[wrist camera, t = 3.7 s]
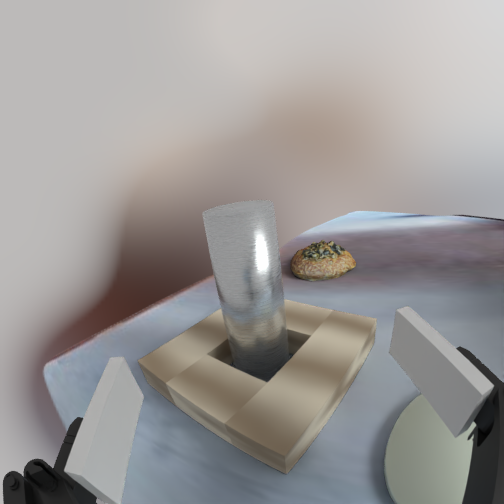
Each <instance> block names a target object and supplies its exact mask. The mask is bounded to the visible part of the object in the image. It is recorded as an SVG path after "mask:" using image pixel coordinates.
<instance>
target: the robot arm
mask: <svg viewBox="0 0 504 504" xmlns="http://www.w3.org/2000/svg"><path fill="white" fill-rule="evenodd" d="M389 353H390V354H391V355H392V356H393V358H394V359H395V360H396V361H397V363H398V364H399V365H400V366H401V368H402V369H403V370H404V371H405V373H406V374H407V375H408V376H409V378H410V379H411V380H412V381H413V383H414V384H415V385H416V387H417V388H418V389H419V390H420V392H421V393H422V394H423V396H424V397H425V398H426V399H427V401H428V402H429V403H430V405H431V406H432V407H433V409H434V410H435V411H436V413H437V414H438V415H439V417H440V418H441V419H442V421H443V422H444V423H445V425H446V426H447V427H448V429H449V430H450V432H451V433H452V434H453V436H454V437H455V438H456V437H458V436H459V435H461V434H462V433H464V432H465V431H467V430H468V429H469V427H470V426H471V424H472V423H473V421H474V422H475V424H476V426H475V428H474V429H473V430H472V432H471V433H470V435H469V436H468V439H467V440H470V439H471V437H472V436H473V435H474V437H473V439H472V441H473V447H472V455H471V462H470V468H469V474H468V479H467V484H466V489H465V493H464V497H463V501H462V504H504V383H503V382H502V381H500V380H499V379H498V378H497V377H496V376H495V375H494V374H493V373H492V372H491V371H490V370H489V369H488V368H487V367H486V366H485V365H484V364H482V363H481V361H480V360H479V359H476V357H475V356H474V355H473V354H472V353H471V352H470V351H468V350H466V349H464V348H462V347H458V348H455V347H454V346H453V345H452V344H451V343H449V342H448V341H447V340H446V339H445V338H444V337H443V336H442V335H441V334H440V333H438V332H437V331H436V330H435V329H434V328H433V327H432V326H431V325H429V324H428V323H427V322H426V321H425V320H424V319H423V318H422V317H420V316H419V315H418V314H417V313H416V312H415V311H413V310H412V309H411V308H410V307H409V306H406V307H403V308H400V309H396V314H395V321H394V328H393V334H392V340H391V346H390V351H389ZM143 398H144V396H143V394H142V392H141V390H140V388H139V386H138V384H137V382H136V380H135V378H134V376H133V374H132V372H131V370H130V368H129V366H128V364H127V362H126V360H125V358H124V357H110V359H109V362H108V364H107V366H106V368H105V370H104V372H103V374H102V376H101V379H100V381H99V383H98V385H97V388H96V390H95V392H94V394H93V397H92V399H91V401H90V404H89V406H88V408H87V411H86V413H85V416H84V418H80V417H77V418H76V419H75V420H74V421H73V423H72V424H71V425H70V427H69V429H68V431H67V434H66V435H67V436H66V437H65V439H64V443H63V444H62V446H61V449H60V452H59V455H58V457H57V460H56V462H55V465H54V468H52V467H50V466H49V465H48V464H47V463H46V462H45V461H43V460H41V459H34V460H31V461H30V462H28V463H27V465H26V466H25V468H24V477H23V476H22V475H21V474H20V473H18V472H16V471H11V472H9V473H7V474H6V475H5V477H4V480H3V497H4V498H3V499H4V504H97V503H96V499H97V498H98V499H100V500H101V501H103V502H104V503H108V504H121V502H122V496H123V490H124V485H125V479H126V474H127V469H128V464H129V459H130V454H131V449H132V445H133V440H134V436H135V431H136V427H137V423H138V418H139V414H140V410H141V406H142V402H143Z"/></svg>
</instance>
